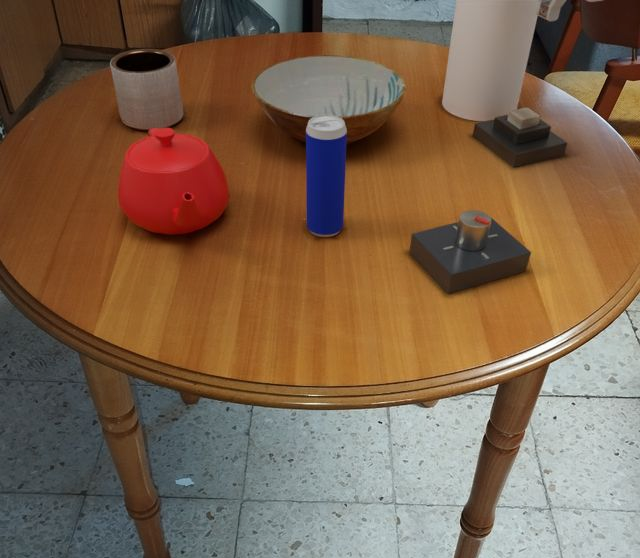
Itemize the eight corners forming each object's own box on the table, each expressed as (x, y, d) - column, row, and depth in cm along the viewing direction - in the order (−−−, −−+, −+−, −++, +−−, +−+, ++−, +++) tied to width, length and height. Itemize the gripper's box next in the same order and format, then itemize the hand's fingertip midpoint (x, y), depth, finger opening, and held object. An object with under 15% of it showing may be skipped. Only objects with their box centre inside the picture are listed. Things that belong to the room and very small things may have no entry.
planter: (140, 138, 113) (128, 79, 106) (110, 116, 119) (97, 58, 112) (195, 121, 118) (188, 62, 111) (164, 100, 124) (155, 43, 116)
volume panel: (483, 233, 95) (487, 212, 93) (525, 271, 89) (531, 251, 87) (409, 252, 92) (411, 232, 89) (447, 294, 86) (451, 273, 83)
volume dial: (449, 242, 88) (453, 216, 85) (467, 230, 90) (472, 204, 87) (474, 254, 86) (479, 228, 83) (492, 242, 88) (498, 216, 85)
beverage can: (338, 217, 98) (341, 112, 86) (347, 236, 94) (351, 129, 83) (303, 221, 97) (302, 115, 86) (310, 240, 93) (310, 133, 82)
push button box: (520, 125, 118) (526, 102, 115) (564, 155, 111) (571, 131, 108) (472, 136, 115) (476, 112, 112) (513, 167, 108) (519, 143, 105)
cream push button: (524, 117, 112) (527, 107, 110) (538, 126, 110) (540, 116, 108) (506, 121, 111) (509, 110, 109) (519, 130, 109) (522, 119, 107)
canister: (527, 118, 120) (558, -11, 105) (454, 123, 118) (474, -8, 103) (502, 87, 128) (527, -36, 114) (433, 91, 127) (449, -33, 112)
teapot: (110, 185, 103) (91, 104, 94) (210, 168, 107) (200, 88, 98) (141, 278, 87) (121, 191, 78) (256, 254, 91) (250, 168, 82)
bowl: (358, 92, 127) (361, 45, 121) (429, 149, 112) (436, 99, 106) (233, 116, 119) (228, 68, 113) (290, 181, 104) (289, 129, 98)
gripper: (648, -85, 83) (611, 38, 93) (546, -117, 95) (523, -5, 106) (608, -80, 81) (574, 45, 91) (509, -114, 93) (489, 0, 104)
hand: (546, 18), depth 99 cm, fingers closed
